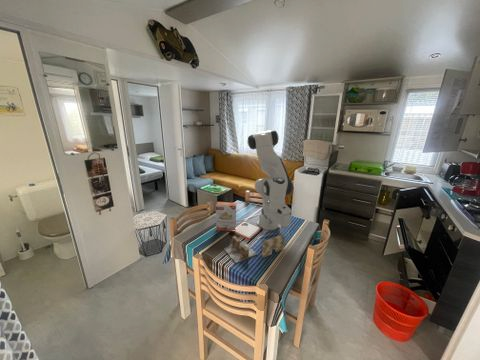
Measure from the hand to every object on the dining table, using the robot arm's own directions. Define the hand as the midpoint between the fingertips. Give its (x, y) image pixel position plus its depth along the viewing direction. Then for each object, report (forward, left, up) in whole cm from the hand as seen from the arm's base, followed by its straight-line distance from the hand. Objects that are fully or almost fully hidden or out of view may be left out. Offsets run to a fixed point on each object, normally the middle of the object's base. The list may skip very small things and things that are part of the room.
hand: (275, 227), depth 119 cm
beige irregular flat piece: (0, 0, -18) cm, 18 cm away
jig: (+5, -20, -18) cm, 27 cm away
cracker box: (-18, -36, -18) cm, 44 cm away
